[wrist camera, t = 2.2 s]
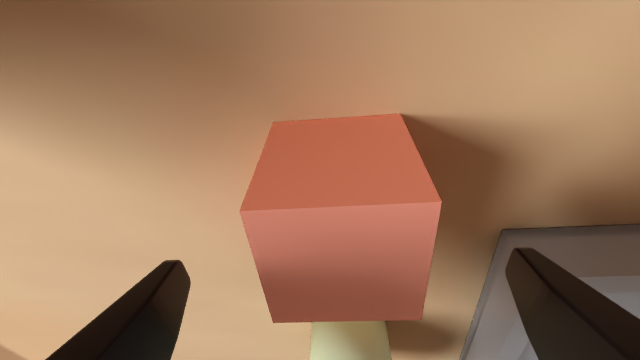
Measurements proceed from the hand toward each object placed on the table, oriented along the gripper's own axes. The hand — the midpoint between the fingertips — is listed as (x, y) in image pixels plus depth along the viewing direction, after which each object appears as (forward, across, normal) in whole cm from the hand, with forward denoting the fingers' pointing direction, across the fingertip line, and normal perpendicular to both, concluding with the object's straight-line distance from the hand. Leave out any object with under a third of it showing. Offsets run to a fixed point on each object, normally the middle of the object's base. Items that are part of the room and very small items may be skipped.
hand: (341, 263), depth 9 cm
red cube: (+5, 0, 0) cm, 5 cm away
